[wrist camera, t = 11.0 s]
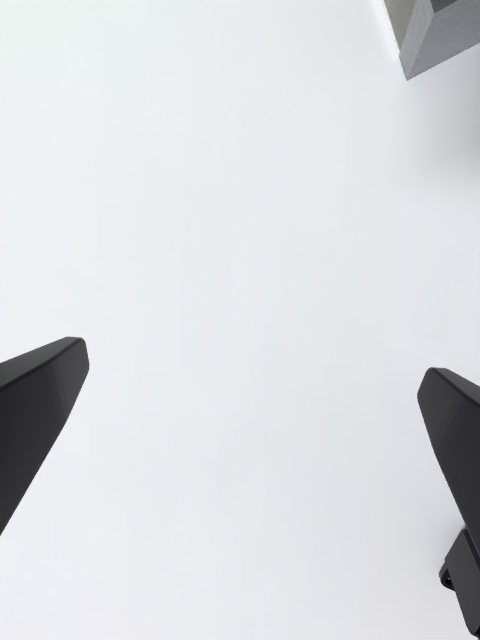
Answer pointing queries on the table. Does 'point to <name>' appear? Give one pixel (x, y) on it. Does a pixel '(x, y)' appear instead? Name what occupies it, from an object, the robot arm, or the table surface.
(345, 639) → the table surface
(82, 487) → the table surface
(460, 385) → the robot arm
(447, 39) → the box
